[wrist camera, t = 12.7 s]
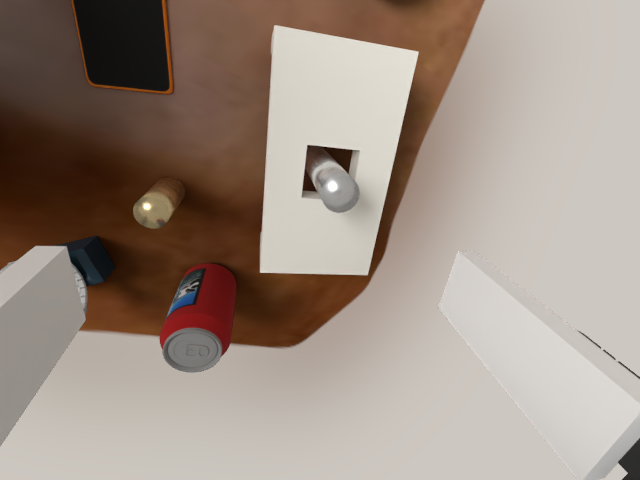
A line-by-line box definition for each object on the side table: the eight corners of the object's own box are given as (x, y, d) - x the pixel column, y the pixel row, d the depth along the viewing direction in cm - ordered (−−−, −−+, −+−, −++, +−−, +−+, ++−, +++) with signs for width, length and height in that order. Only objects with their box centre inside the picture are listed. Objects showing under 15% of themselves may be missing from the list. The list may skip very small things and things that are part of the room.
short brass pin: (157, 202, 35) (135, 227, 29) (154, 175, 34) (131, 196, 28) (185, 204, 36) (170, 229, 30) (184, 178, 34) (167, 198, 28)
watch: (77, 291, 38) (15, 362, 29) (37, 233, 34) (-51, 293, 25) (124, 280, 39) (77, 346, 29) (89, 221, 35) (23, 275, 25)
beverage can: (186, 255, 38) (157, 320, 28) (241, 264, 40) (235, 329, 30) (179, 299, 41) (151, 375, 30) (232, 306, 43) (223, 380, 32)
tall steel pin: (300, 170, 36) (319, 211, 25) (303, 144, 35) (324, 173, 24) (326, 173, 37) (355, 214, 25) (329, 147, 36) (362, 177, 24)
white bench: (260, 242, 39) (259, 272, 33) (271, 37, 30) (274, 25, 24) (351, 246, 42) (367, 275, 36) (388, 57, 33) (418, 51, 26)
